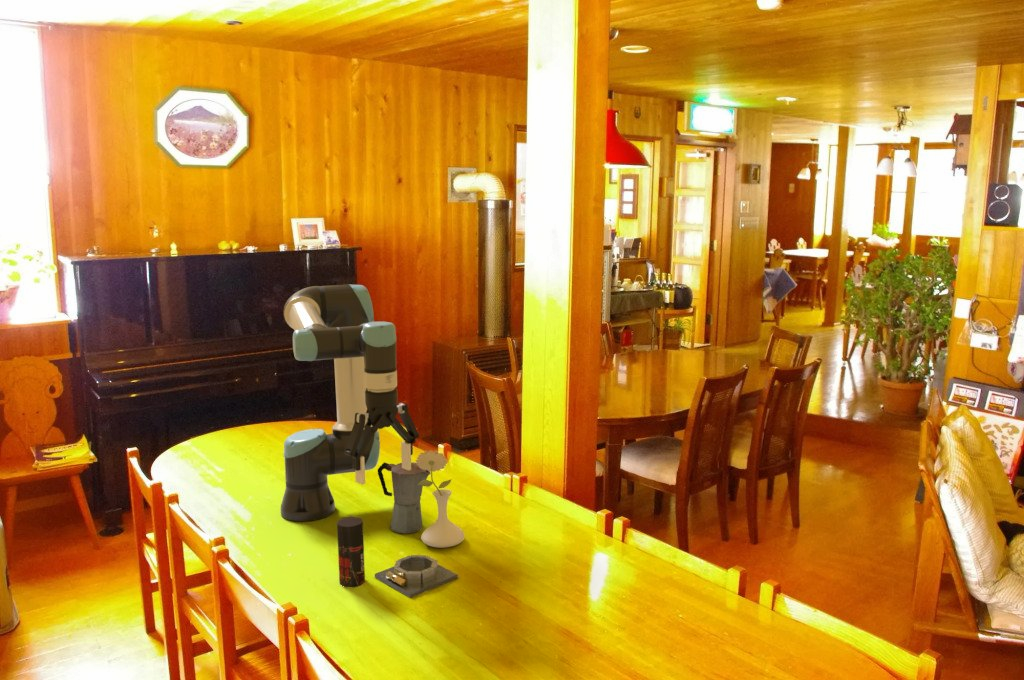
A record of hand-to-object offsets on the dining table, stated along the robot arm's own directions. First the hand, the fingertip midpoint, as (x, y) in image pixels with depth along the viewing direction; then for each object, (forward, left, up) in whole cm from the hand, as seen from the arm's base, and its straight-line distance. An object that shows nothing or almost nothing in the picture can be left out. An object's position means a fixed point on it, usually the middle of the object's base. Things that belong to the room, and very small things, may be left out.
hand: (384, 475), depth 197 cm
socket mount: (+8, +3, -24) cm, 26 cm away
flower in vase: (-4, +20, -24) cm, 32 cm away
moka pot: (-18, +19, -24) cm, 36 cm away
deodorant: (-1, -9, -24) cm, 26 cm away
